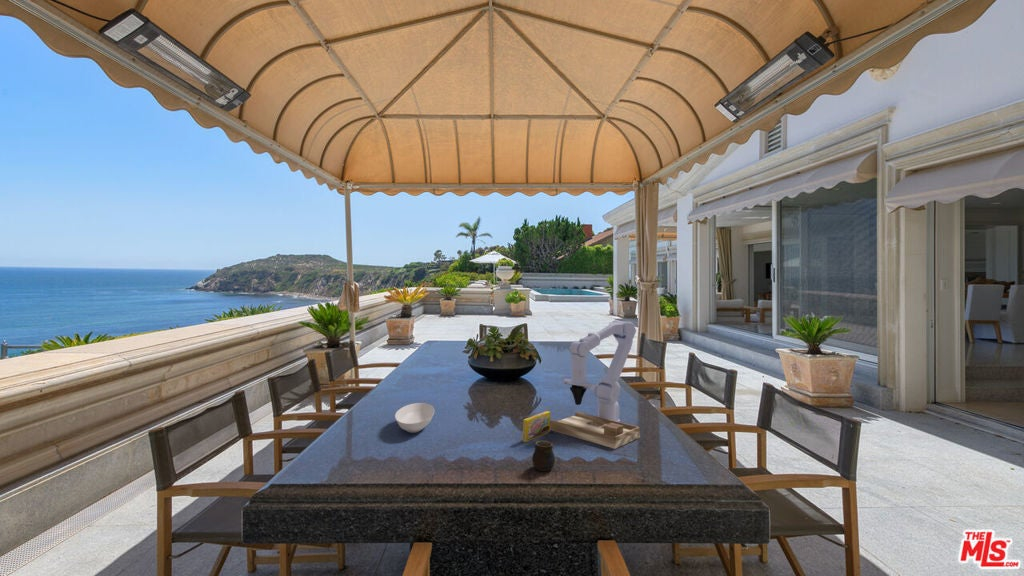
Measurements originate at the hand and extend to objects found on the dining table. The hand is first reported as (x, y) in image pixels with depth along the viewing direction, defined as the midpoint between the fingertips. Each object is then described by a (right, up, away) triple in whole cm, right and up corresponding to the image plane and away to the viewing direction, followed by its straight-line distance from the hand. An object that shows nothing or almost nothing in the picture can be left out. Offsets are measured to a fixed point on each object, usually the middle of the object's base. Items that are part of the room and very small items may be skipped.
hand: (578, 404), depth 189 cm
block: (+10, -7, -19) cm, 22 cm away
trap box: (+5, -10, -8) cm, 13 cm away
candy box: (-18, -10, -12) cm, 24 cm away
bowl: (-66, -9, -3) cm, 67 cm away
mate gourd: (-17, -10, -43) cm, 48 cm away
